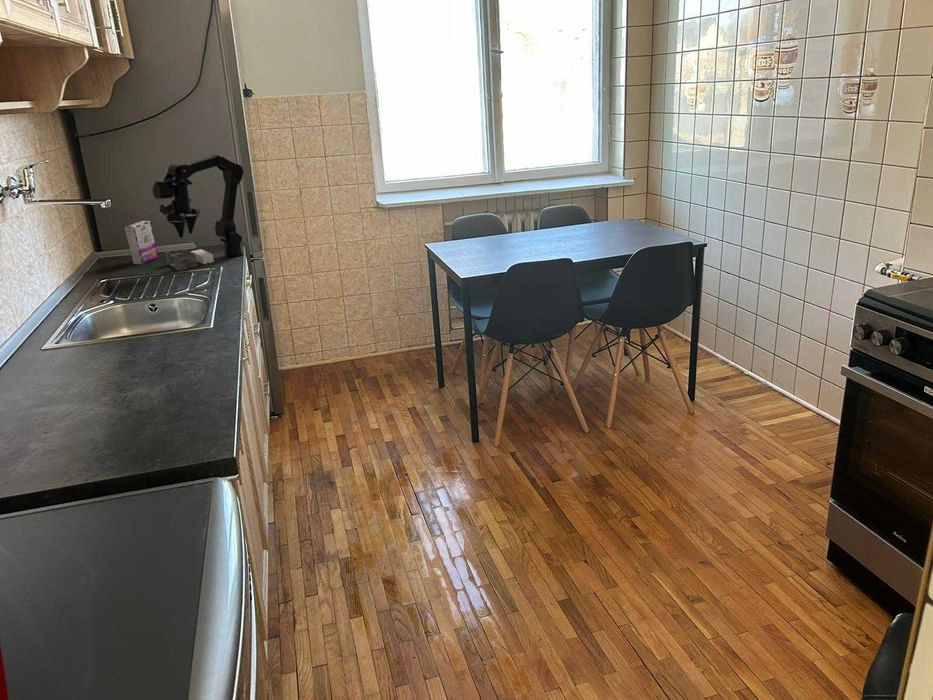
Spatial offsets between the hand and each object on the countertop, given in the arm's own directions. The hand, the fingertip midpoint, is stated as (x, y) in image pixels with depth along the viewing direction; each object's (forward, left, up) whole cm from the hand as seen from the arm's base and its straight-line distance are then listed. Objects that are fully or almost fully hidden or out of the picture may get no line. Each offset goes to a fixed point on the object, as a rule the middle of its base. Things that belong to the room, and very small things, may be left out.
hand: (186, 235), depth 290 cm
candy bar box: (+10, -25, -14) cm, 30 cm away
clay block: (-7, -5, -14) cm, 16 cm away
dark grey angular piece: (+2, -5, -13) cm, 14 cm away
